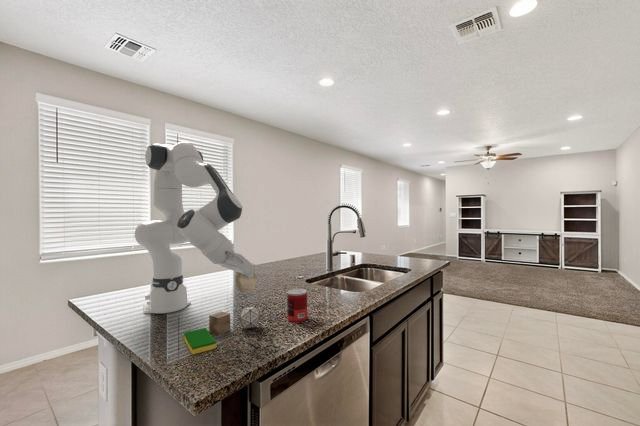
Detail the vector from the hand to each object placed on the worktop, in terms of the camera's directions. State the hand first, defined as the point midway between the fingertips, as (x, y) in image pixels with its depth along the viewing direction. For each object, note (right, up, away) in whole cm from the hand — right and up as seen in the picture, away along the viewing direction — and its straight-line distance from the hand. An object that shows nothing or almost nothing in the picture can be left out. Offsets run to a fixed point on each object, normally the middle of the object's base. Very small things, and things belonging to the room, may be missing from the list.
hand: (246, 275), depth 104 cm
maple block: (0, -5, 0) cm, 5 cm away
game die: (+1, -20, +2) cm, 20 cm away
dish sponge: (-13, -20, -10) cm, 26 cm away
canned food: (+17, -20, +10) cm, 28 cm away
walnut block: (-9, -20, 0) cm, 22 cm away
